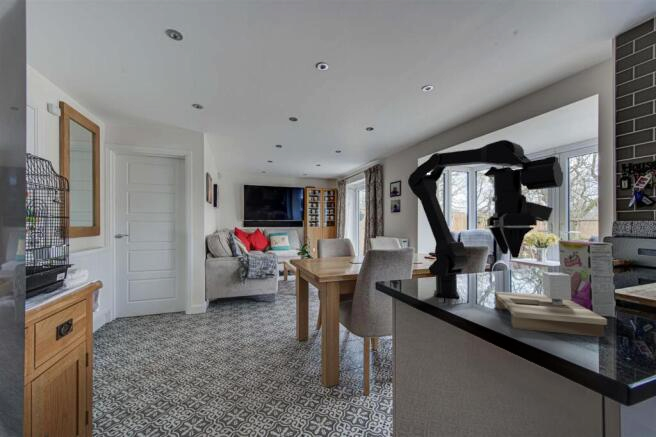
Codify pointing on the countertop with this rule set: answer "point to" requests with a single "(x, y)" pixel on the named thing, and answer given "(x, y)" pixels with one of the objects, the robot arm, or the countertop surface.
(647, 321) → the countertop surface
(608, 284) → the candy bar box
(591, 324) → the keyhole plate
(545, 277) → the peg
